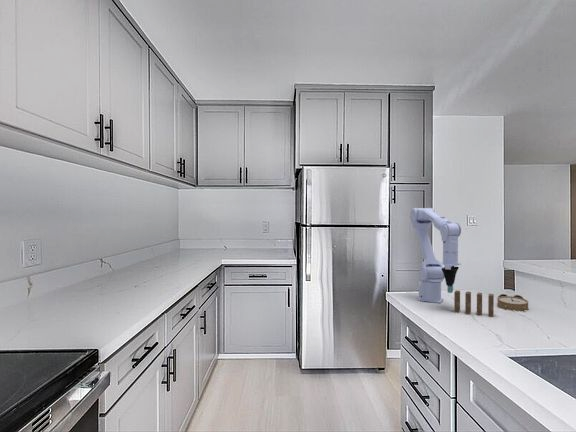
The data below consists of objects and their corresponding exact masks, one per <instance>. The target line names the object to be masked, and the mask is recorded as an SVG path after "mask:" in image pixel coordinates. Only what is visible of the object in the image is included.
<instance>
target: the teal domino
mask: <svg viewBox="0 0 576 432" xmlns="http://www.w3.org/2000/svg"><path fill="white" fill-rule="evenodd" d="M453 291H454V284H453V285H452V286H447V293H448V294H449V293H450V294H453Z"/></svg>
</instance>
